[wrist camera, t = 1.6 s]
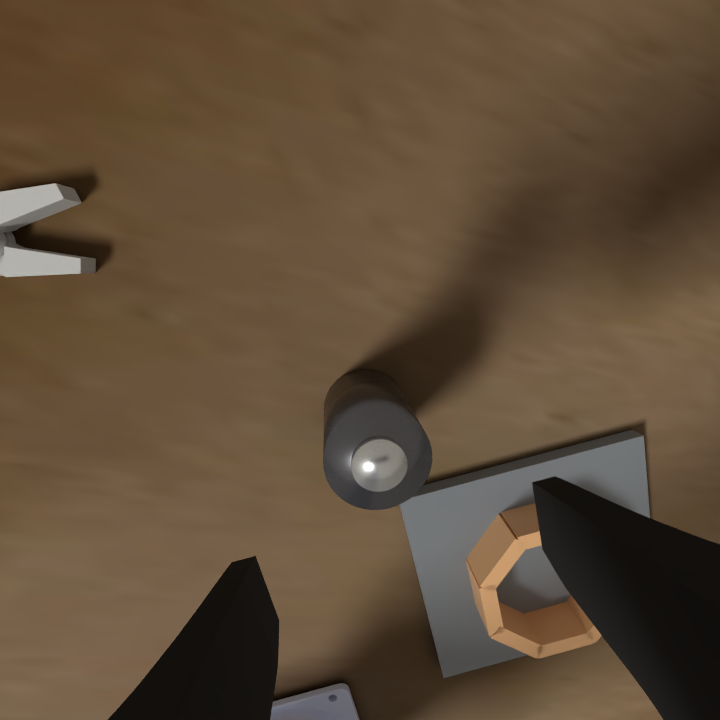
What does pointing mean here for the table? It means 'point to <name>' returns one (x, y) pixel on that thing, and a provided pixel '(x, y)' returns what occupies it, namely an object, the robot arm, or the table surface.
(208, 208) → the table surface
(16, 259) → the pliers
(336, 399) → the cell
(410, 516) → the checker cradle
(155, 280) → the table surface
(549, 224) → the table surface
